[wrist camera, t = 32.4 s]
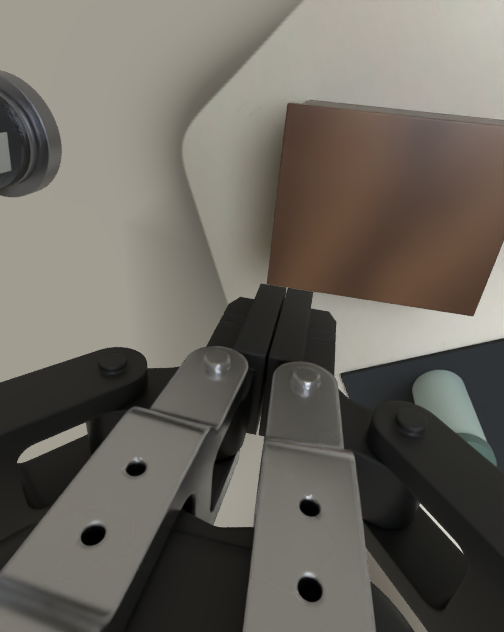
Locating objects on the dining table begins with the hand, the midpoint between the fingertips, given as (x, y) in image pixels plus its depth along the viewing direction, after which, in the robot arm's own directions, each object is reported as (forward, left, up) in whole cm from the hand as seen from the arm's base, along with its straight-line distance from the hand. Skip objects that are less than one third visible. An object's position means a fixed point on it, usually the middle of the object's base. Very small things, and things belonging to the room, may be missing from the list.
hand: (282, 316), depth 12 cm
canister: (+4, -25, -26) cm, 37 cm away
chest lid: (+4, -4, -20) cm, 20 cm away
